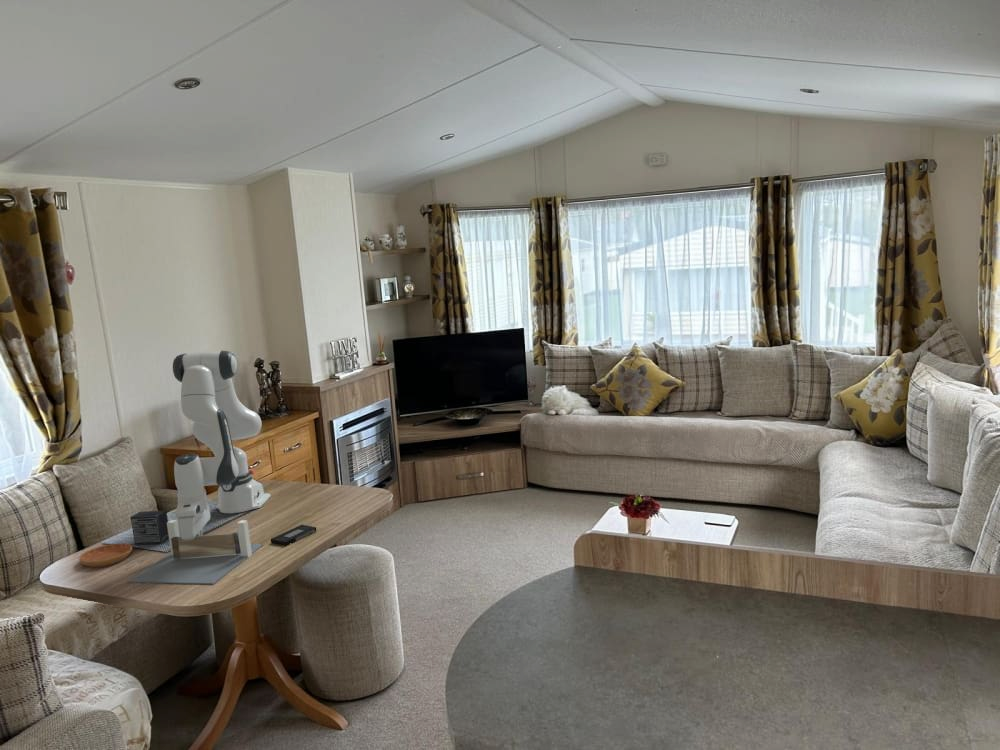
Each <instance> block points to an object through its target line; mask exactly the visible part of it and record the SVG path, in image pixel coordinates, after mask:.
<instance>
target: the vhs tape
mask: <svg viewBox="0 0 1000 750" xmlns="http://www.w3.org/2000/svg"><path fill="white" fill-rule="evenodd" d="M317 530H318V529H317V527H316V526H312V525H305V524H300V525H298V526H296V527H293V528H291V529H289V530H286V531H285V532H282V533H281V534H278V535H276V536H274V537H271V538H270V543H271V544H273V543H274V545H278V546H283V545H284V546H283V547H288V546H290V545H291V544H290V543H292V542H294V543H296V542H297V541H296V540H298V539H300V538H302V537H304V536H306V535H308V534H310V533H312V534H314V533H316V532H315V531H317ZM313 532H314V533H313ZM310 535H311V534H310ZM308 536H309V535H308ZM306 537H307V536H306ZM304 538H305V537H304ZM302 539H303V538H302ZM300 540H301V539H300ZM295 541H296V542H295ZM298 541H299V540H298ZM289 544H290V545H289ZM292 544H293V543H292ZM287 545H288V546H287Z"/></svg>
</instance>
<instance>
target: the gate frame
mask: <svg viewBox="0 0 1000 750" xmlns="http://www.w3.org/2000/svg"><path fill="white" fill-rule="evenodd" d="M236 525H237V532H238V536H239V543H240V550H241V553H240V554H236V553H235V554H228V555H216V556H203V557H190V558H180V559H174V555H173V549H172V542H171V539H172V538H173V537H181V535H180V531H179V526H178V519H177V520H176V519H173V520H172V519H171V520H168V522H167V528H168V535H169V539H168V541H169V547H170V553H168V554H167V555H165V556H164V557H162V558H160V559H159V560H158V561H156V562H155V563H153V564H151V565H150V566H148V567H147V568H145V569H144V570H143V571H141V572H139V573H138V574H137V575H135V576H133V577H132V578H131V579H128V580H127V583H130V584H131V583H132V584H133V583H135V584H170V585H171V584H172V585H173V584H175V585H177V584H178V585H179V584H180V585H216V584H217V583H218V582H219V581H220V580H221V579H222V578H224V577H225V576H226V575H228V574H229V573H230V572H231V571H233V570H234V569H235V568H236V567H238V566H239V565H240V564H242V562H243V563H244V561H245V560H247V559H248V558H249V557H251V556H252V555H253V554H254V553H256V551H258V550H259V549H260V548H262V547H263V546H264V544H263V543H251V536H250V531H249V530H250V528H249V523H248V519H247V520H244V519H242V520H239V521H238V522H236Z"/></svg>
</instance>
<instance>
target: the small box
mask: <svg viewBox="0 0 1000 750" xmlns="http://www.w3.org/2000/svg"><path fill="white" fill-rule="evenodd" d="M167 522H169V520H168V512H167V510H148V511H138V512H137V513H135V514H134V515H131V516H130V523H131V528H132V534H133V535H132V536H133V540H134V541H133V542H134V545H135V546H137V545H161V544H163V543H165V542H166V541H168V540H169V535H168V528H167Z"/></svg>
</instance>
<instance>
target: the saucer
mask: <svg viewBox="0 0 1000 750" xmlns="http://www.w3.org/2000/svg"><path fill="white" fill-rule="evenodd" d="M132 551H133V546H132V545H131V544H129V543H124V542H119V543H118V542H117V543H109V544H104V545H101V546H97V547H94V548H92V549H89V550H87V551H85V552H84V553H81V555H80V556H79V559H78V560H79V562H80V563H81V564H83V565H84V566H87V567H89V568H101V567H102V568H103V567H107V566H111V565H115V564H117V563H119V562H121V561H124V560H125V559H126V558H128V556H129V555H130V554H131V552H132Z"/></svg>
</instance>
